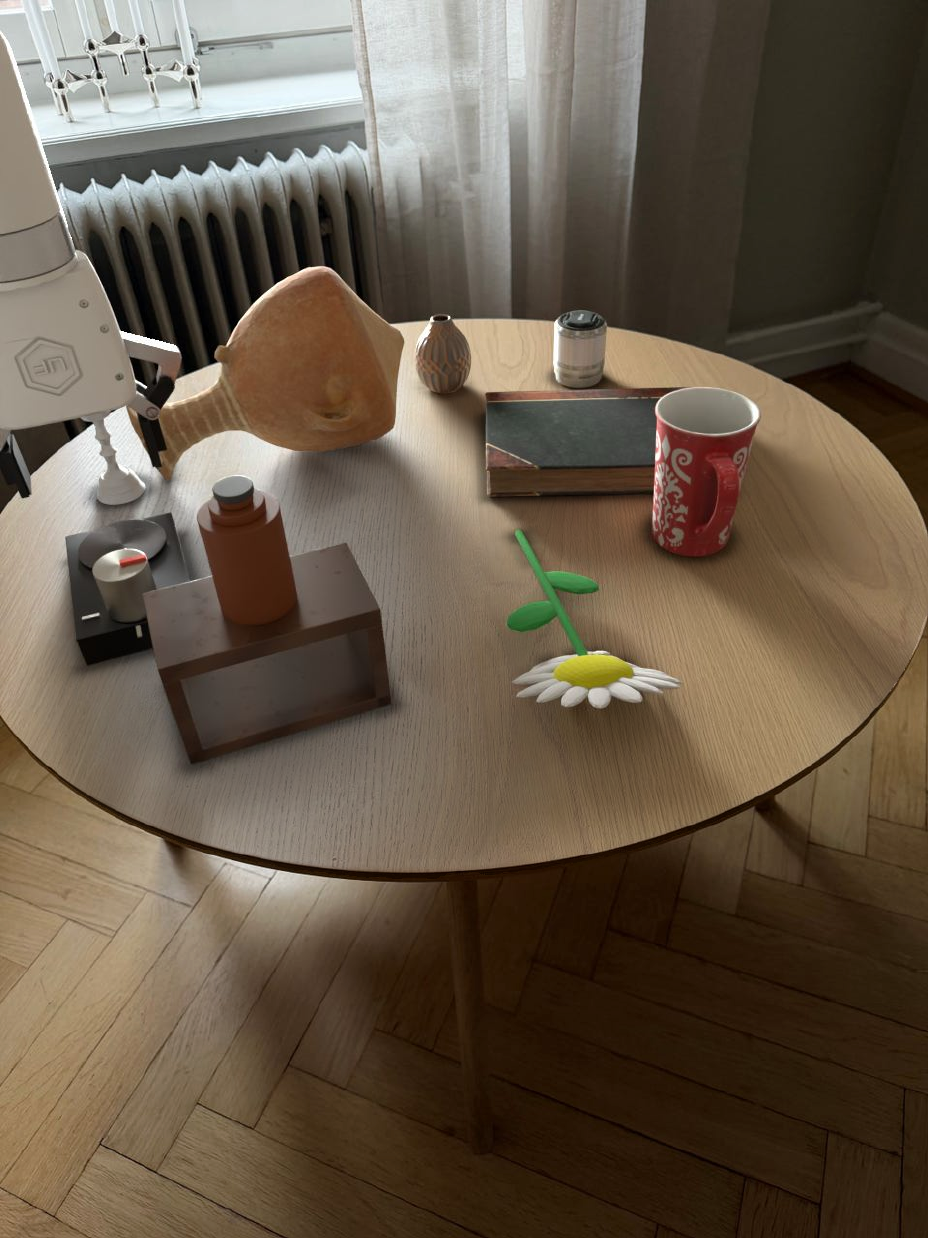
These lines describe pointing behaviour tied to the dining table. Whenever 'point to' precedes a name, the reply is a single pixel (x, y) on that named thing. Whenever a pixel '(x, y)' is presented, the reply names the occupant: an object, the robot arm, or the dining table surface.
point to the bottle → (247, 552)
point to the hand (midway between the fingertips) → (92, 473)
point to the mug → (700, 467)
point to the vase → (442, 356)
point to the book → (572, 441)
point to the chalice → (113, 469)
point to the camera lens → (579, 348)
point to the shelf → (270, 657)
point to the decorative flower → (577, 651)
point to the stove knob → (124, 583)
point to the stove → (91, 618)
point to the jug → (295, 374)
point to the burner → (123, 540)
